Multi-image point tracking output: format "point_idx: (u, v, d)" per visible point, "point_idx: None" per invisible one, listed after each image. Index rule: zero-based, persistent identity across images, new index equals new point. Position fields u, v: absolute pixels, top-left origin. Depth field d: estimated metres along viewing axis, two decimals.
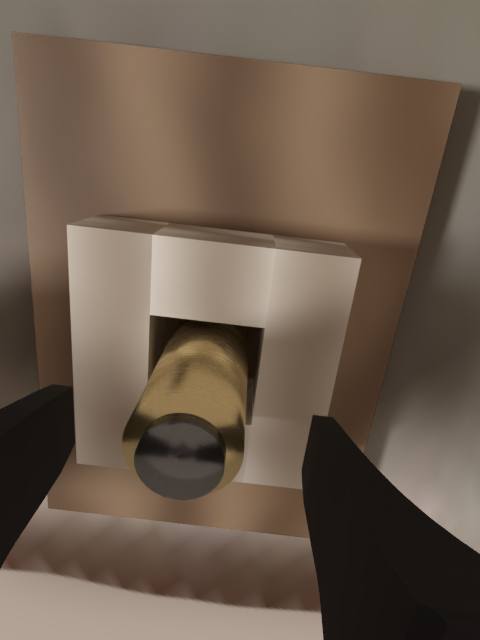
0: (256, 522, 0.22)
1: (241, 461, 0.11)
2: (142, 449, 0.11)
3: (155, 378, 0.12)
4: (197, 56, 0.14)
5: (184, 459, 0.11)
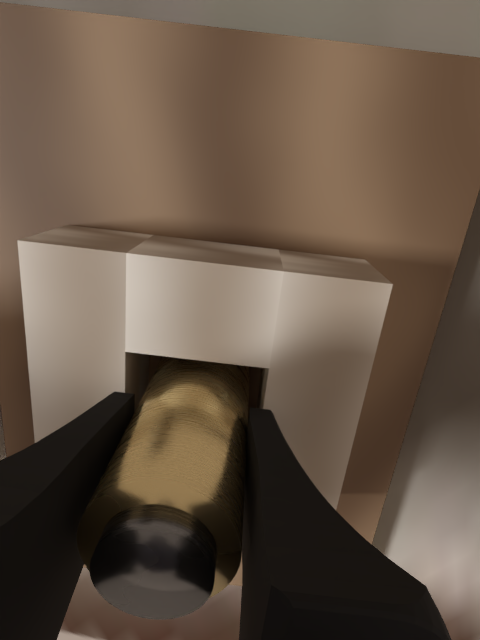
0: None
1: (238, 564, 0.08)
2: (100, 558, 0.08)
3: (125, 444, 0.09)
4: (184, 28, 0.12)
5: (159, 570, 0.08)
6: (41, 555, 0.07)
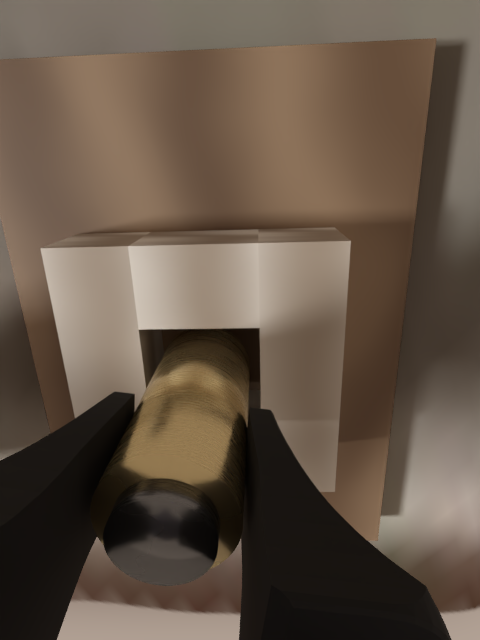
0: None
1: (241, 528, 0.09)
2: (111, 531, 0.08)
3: (128, 431, 0.10)
4: (152, 55, 0.14)
5: (165, 538, 0.08)
6: (41, 555, 0.07)
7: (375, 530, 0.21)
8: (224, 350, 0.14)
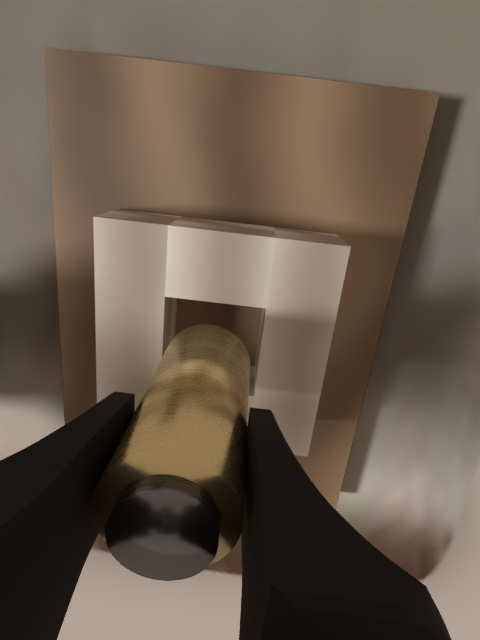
0: None
1: (240, 531, 0.09)
2: (115, 522, 0.08)
3: (135, 423, 0.10)
4: (207, 69, 0.16)
5: (168, 534, 0.09)
6: (41, 555, 0.07)
7: (334, 501, 0.24)
8: (230, 352, 0.14)
